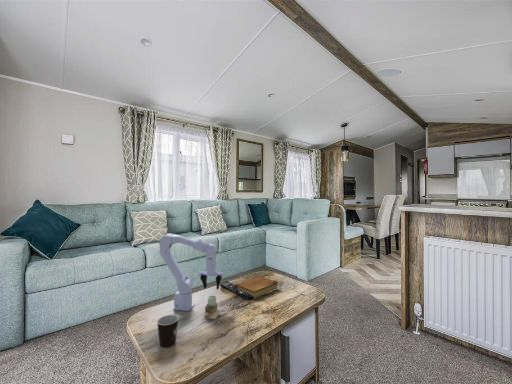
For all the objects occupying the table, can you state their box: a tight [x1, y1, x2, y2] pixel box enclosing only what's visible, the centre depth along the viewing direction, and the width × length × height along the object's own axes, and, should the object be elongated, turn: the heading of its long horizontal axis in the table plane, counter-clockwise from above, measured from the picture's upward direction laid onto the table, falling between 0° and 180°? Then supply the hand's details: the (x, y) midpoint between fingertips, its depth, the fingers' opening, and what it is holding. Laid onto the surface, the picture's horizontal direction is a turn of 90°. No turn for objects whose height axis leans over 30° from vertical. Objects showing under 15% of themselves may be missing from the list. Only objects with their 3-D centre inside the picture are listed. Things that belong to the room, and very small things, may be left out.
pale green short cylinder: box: [207, 295, 217, 307], centre depth 127 cm, size 4×4×4 cm
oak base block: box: [204, 307, 220, 320], centre depth 127 cm, size 6×6×3 cm
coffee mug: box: [156, 314, 179, 348], centre depth 105 cm, size 12×9×10 cm
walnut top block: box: [204, 302, 218, 314], centre depth 127 cm, size 5×5×3 cm
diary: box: [234, 275, 279, 300], centre depth 161 cm, size 23×19×6 cm
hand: (211, 288), depth 138 cm, fingers open, 7 cm apart
